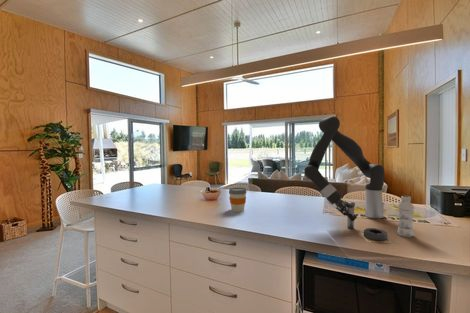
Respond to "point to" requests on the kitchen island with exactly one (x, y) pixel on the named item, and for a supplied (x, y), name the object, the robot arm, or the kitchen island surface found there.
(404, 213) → the plastic bottle
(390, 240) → the oak base plate
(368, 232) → the chuck collar
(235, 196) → the reusable coffee cup
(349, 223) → the steel key rod
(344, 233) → the kitchen island surface
